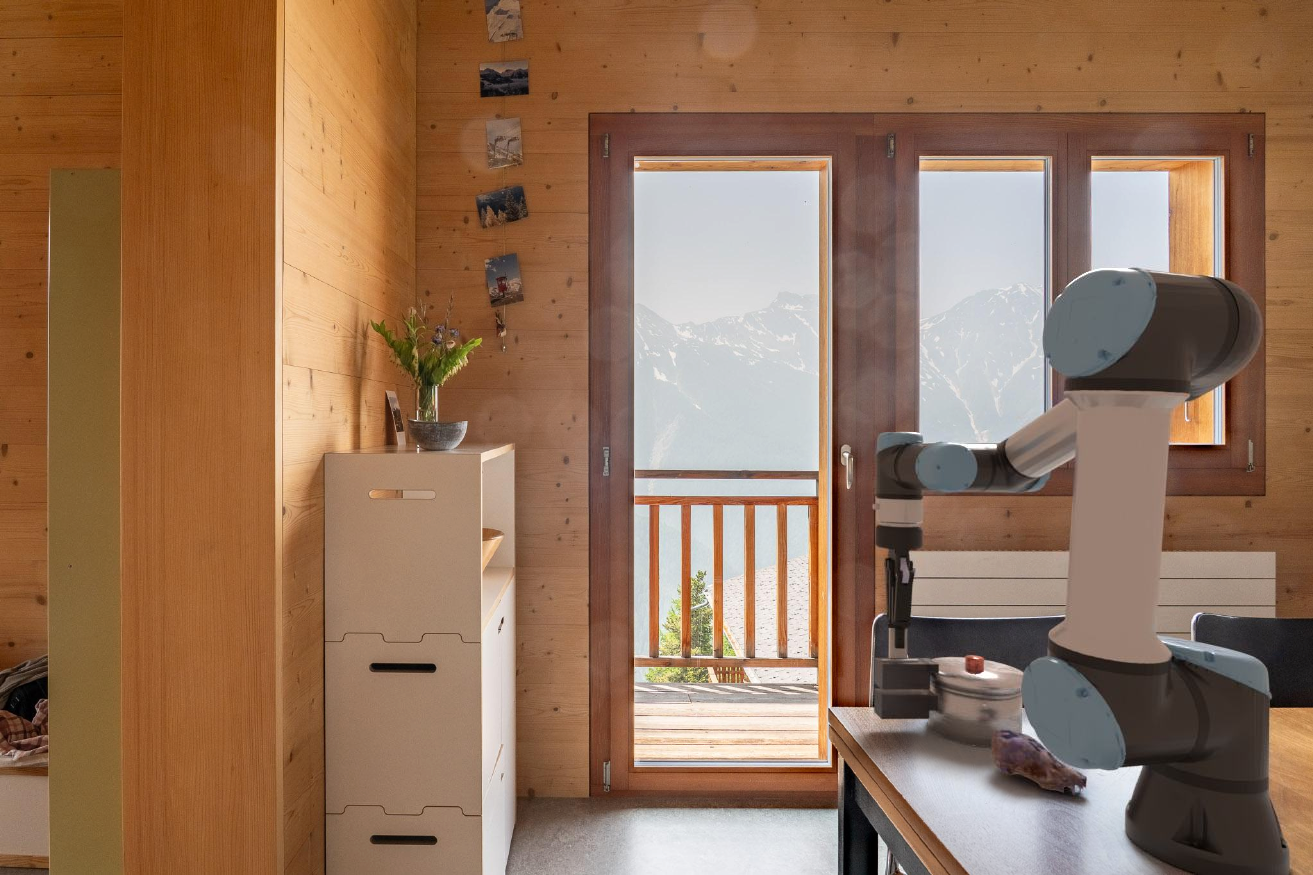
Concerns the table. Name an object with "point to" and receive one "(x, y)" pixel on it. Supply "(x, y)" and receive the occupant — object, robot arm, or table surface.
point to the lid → (947, 674)
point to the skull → (1032, 761)
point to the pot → (954, 712)
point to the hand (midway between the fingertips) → (897, 666)
